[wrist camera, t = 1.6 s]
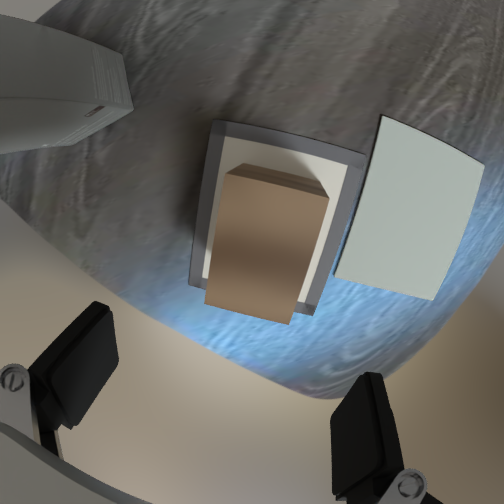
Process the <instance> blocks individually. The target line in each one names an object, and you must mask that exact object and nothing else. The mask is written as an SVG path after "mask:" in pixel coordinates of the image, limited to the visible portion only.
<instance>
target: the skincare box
mask: <svg viewBox="0 0 504 504" xmlns="http://www.w3.org/2000/svg"><path fill="white" fill-rule="evenodd" d="M133 109H134V107H133V103H132V99H131V95H130V90H129V86H128V81H127V76H126V71H125V66H124V61H123V56H122V54H120V53H118V52H115V51H113V50H111V49H109V48H106V47H104V46H101V45H99V44H96V43H94V42H91V41H89V40H86V39H83V38H81V37H78V36H75V35H72V34H69V33H66V32H64V31H61V30H57V29H54V28H51V27H48V26H44V25H40V24H37V23H34V22H30V21H26V20H23V19H19V18H15V17H10V16H6V15H1V14H0V154H5V153H11V152H17V151H23V150H31V149H38V148H47V147H56V146H69V145H73V144H75V143H77V142H79V141H80V140H82V139H84V138H86V137H88V136H89V135H91V134H93V133H95V132H97V131H98V130H100V129H102V128H104V127H105V126H107V125H109V124H111V123H113V122H114V121H116V120H118V119H120V118H121V117H123V116H125V115H127V114H128V113H130V112H131V111H132V110H133Z"/></svg>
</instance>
